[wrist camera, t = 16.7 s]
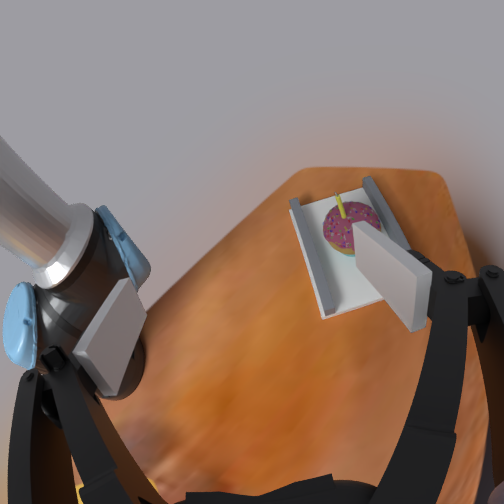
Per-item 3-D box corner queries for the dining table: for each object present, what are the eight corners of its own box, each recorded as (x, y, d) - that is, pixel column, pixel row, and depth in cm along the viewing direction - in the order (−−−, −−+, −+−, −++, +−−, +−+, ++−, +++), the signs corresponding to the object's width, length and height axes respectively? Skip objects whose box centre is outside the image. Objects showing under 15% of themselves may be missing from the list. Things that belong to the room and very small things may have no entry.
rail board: (420, 285, 37) (426, 275, 34) (322, 319, 39) (320, 312, 36) (372, 189, 48) (372, 175, 45) (290, 214, 50) (286, 200, 47)
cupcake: (324, 267, 42) (316, 220, 32) (325, 221, 46) (317, 168, 36) (380, 267, 39) (389, 219, 29) (376, 220, 43) (381, 167, 33)
